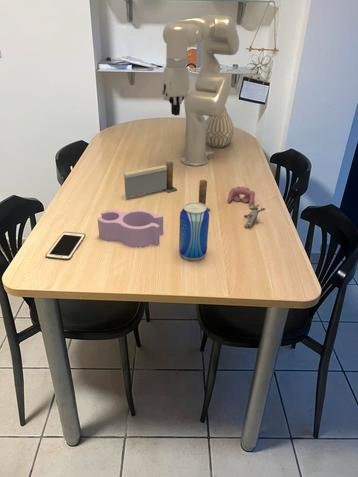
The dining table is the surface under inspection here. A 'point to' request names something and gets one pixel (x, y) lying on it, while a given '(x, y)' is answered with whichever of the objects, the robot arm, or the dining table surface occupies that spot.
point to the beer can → (193, 231)
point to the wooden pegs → (171, 189)
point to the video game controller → (241, 191)
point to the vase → (219, 130)
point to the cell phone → (65, 246)
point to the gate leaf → (145, 181)
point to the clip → (131, 227)
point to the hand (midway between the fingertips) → (175, 114)
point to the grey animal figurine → (253, 215)
